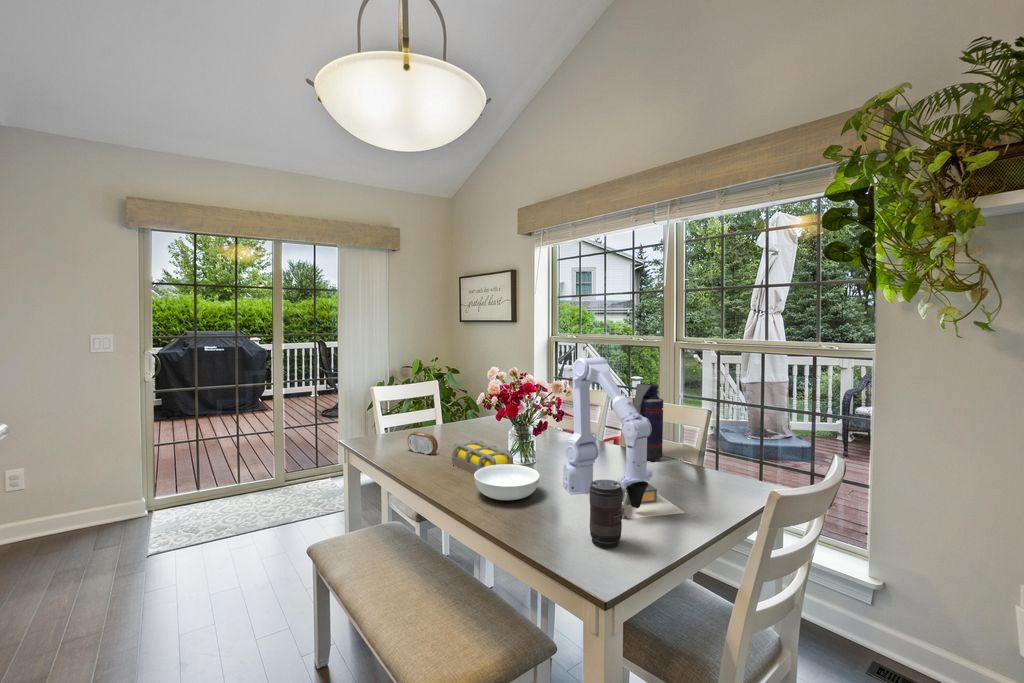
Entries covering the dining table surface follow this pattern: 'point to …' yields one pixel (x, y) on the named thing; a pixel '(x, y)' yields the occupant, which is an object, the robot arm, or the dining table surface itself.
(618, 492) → the camera lens
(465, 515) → the dining table surface
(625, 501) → the door
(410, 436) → the tin
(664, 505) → the mat
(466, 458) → the cage light
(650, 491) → the grey and orange box
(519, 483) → the serving bowl
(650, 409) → the grenade
